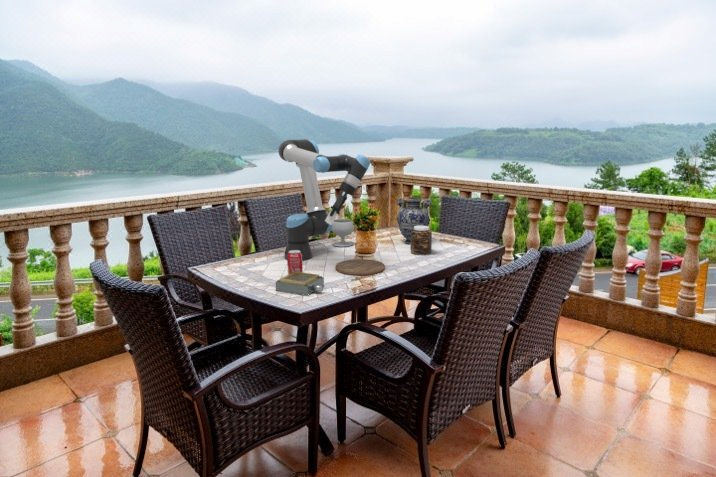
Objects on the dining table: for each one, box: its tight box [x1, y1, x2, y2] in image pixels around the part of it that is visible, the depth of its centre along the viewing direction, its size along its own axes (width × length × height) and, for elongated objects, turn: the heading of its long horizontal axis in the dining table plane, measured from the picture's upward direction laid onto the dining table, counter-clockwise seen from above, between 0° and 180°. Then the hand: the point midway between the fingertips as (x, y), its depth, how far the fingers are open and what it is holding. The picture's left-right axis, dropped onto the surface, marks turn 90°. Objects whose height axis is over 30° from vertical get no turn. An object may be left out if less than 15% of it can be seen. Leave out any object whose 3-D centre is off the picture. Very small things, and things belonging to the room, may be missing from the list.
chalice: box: [331, 218, 355, 248], centre depth 287 cm, size 14×14×15 cm
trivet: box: [334, 258, 386, 277], centre depth 238 cm, size 25×25×2 cm
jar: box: [409, 225, 433, 256], centre depth 267 cm, size 12×12×15 cm
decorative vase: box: [396, 196, 433, 245], centre depth 290 cm, size 21×19×28 cm
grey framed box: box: [275, 271, 325, 296], centre depth 207 cm, size 20×14×5 cm
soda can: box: [286, 250, 304, 275], centre depth 225 cm, size 7×7×12 cm
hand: (328, 223), depth 230 cm, fingers open, 13 cm apart
